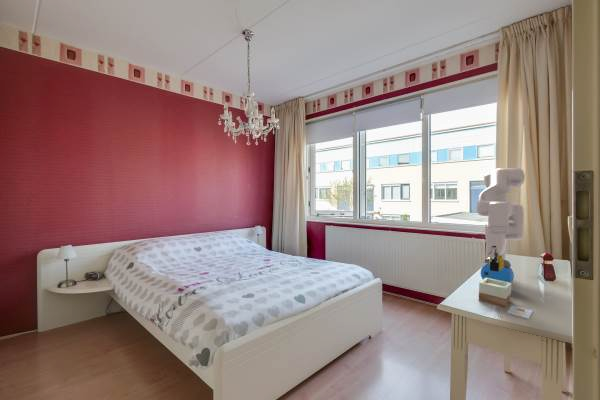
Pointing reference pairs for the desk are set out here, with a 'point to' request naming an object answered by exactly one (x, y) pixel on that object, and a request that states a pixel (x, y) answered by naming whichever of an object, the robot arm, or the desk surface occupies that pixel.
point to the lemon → (500, 261)
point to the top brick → (495, 287)
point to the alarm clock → (501, 275)
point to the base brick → (494, 300)
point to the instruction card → (520, 312)
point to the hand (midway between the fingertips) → (496, 269)
